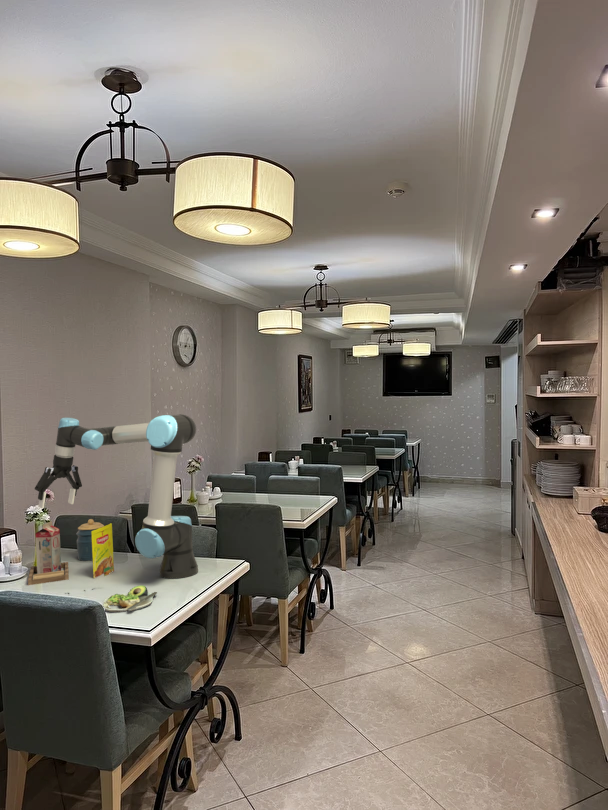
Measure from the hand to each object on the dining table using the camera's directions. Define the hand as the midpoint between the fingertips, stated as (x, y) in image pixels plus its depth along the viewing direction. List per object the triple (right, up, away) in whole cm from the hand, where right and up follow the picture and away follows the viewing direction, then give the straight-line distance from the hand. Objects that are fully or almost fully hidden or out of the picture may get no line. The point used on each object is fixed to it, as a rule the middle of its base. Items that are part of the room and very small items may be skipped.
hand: (56, 505), depth 244 cm
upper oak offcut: (+2, -27, -11) cm, 29 cm away
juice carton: (-2, -29, -2) cm, 29 cm away
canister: (+5, -29, +27) cm, 40 cm away
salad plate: (+42, -28, -40) cm, 64 cm away
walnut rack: (0, -29, -5) cm, 29 cm away
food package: (+22, -28, -5) cm, 36 cm away
